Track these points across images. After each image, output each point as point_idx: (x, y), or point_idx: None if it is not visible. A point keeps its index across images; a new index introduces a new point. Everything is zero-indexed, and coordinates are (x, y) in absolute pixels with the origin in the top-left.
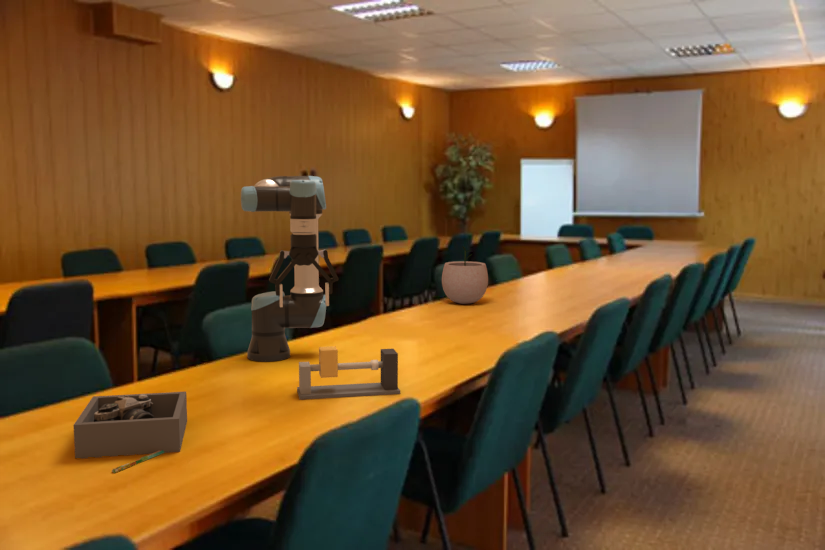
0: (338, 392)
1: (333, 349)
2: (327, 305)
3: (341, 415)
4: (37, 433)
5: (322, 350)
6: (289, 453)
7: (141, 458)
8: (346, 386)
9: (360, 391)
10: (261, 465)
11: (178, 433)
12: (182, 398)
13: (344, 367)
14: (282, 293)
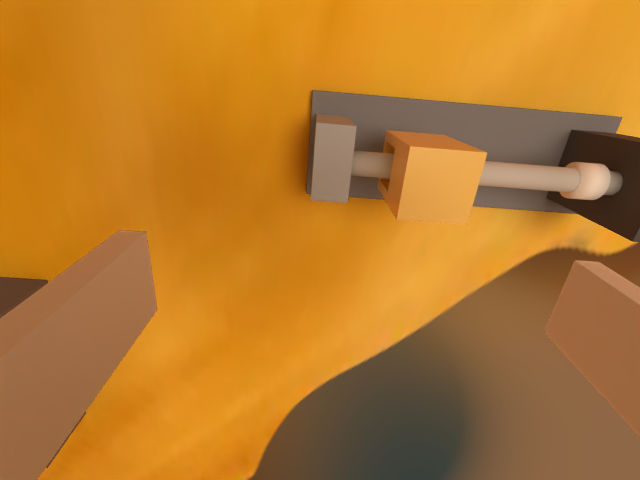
0: None
1: (454, 212)
2: (555, 333)
3: (376, 322)
4: None
5: (405, 217)
6: (255, 447)
7: None
8: (461, 129)
9: (478, 192)
10: (215, 470)
11: (64, 441)
12: None
13: None
14: (75, 424)
